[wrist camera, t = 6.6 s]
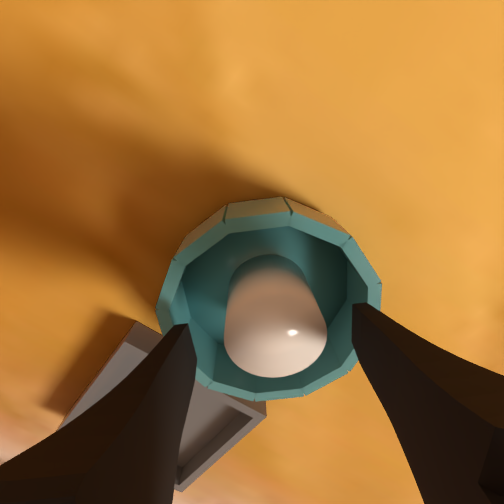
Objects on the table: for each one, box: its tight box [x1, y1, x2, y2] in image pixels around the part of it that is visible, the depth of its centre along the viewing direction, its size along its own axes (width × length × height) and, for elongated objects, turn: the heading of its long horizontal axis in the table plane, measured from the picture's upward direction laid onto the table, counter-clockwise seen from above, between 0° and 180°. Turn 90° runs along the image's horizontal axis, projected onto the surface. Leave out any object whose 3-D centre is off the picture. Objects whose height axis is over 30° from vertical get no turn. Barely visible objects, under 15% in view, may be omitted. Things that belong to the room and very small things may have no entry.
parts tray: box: [56, 321, 267, 492], centre depth 19 cm, size 10×10×2 cm
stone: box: [224, 254, 327, 378], centre depth 14 cm, size 4×4×4 cm
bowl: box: [155, 197, 382, 402], centre depth 15 cm, size 10×10×3 cm
